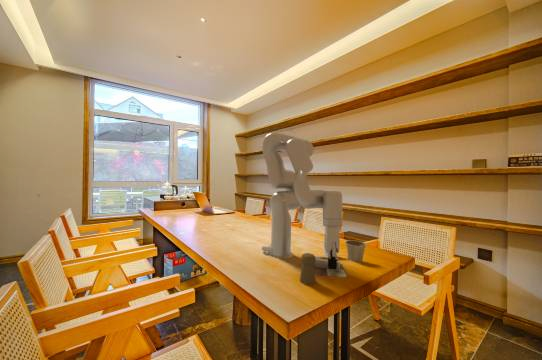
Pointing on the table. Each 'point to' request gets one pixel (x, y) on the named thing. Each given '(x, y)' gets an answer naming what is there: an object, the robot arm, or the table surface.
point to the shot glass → (325, 251)
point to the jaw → (325, 264)
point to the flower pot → (355, 250)
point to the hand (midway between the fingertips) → (332, 268)
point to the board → (330, 272)
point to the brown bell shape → (308, 269)
